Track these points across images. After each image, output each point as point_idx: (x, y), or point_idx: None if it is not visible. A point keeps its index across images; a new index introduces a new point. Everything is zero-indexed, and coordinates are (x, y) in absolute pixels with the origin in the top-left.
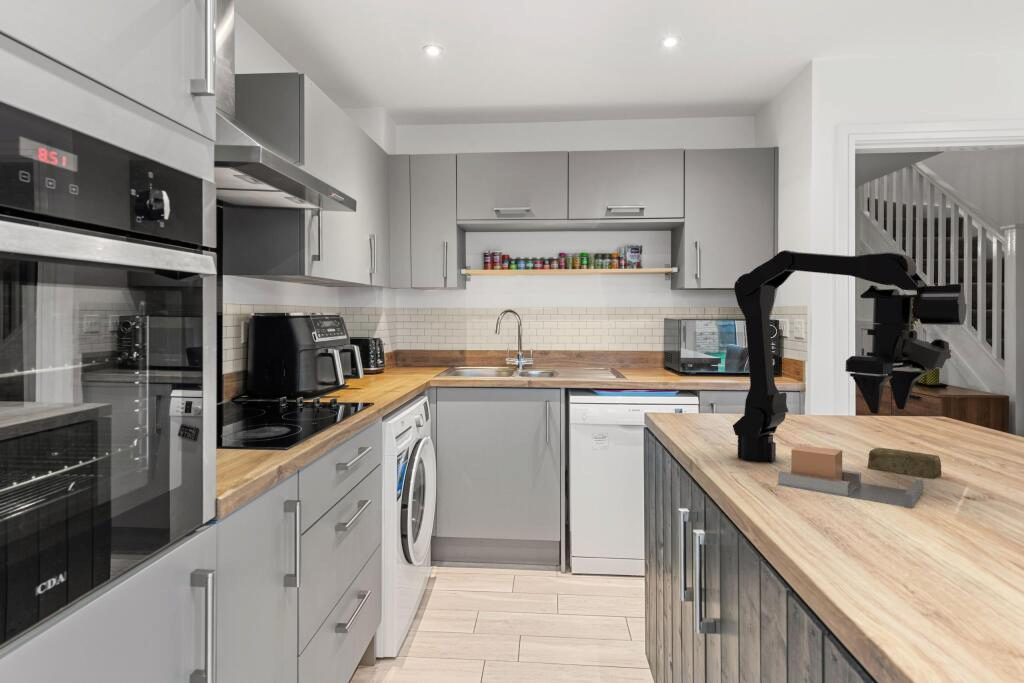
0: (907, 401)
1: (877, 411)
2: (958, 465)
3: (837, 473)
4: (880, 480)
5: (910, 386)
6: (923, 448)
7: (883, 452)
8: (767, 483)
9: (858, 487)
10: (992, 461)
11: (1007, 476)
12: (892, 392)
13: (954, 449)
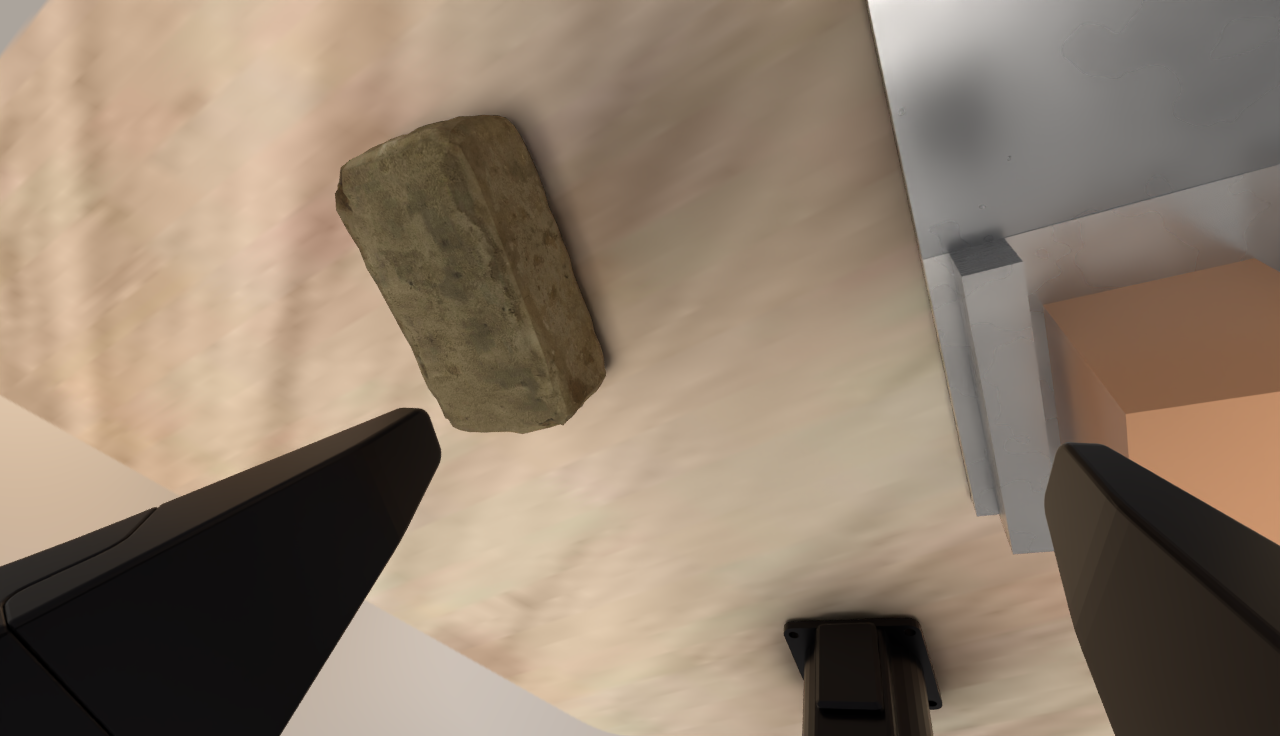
0: (318, 441)
1: (1129, 459)
2: (164, 234)
3: (1220, 312)
4: (674, 281)
5: (106, 572)
6: (124, 418)
7: (545, 369)
8: None
9: (1052, 219)
10: (2, 197)
11: (87, 13)
12: (336, 641)
13: (34, 357)
